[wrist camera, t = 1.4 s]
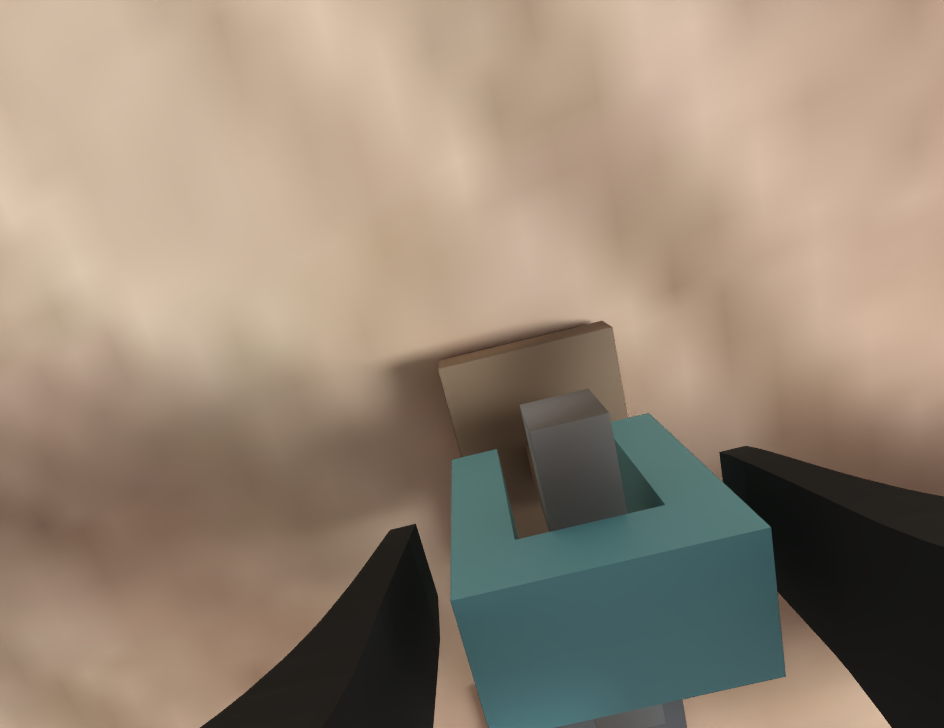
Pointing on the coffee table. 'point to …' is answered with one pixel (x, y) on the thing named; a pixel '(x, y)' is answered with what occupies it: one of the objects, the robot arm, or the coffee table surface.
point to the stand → (548, 434)
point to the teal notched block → (613, 591)
